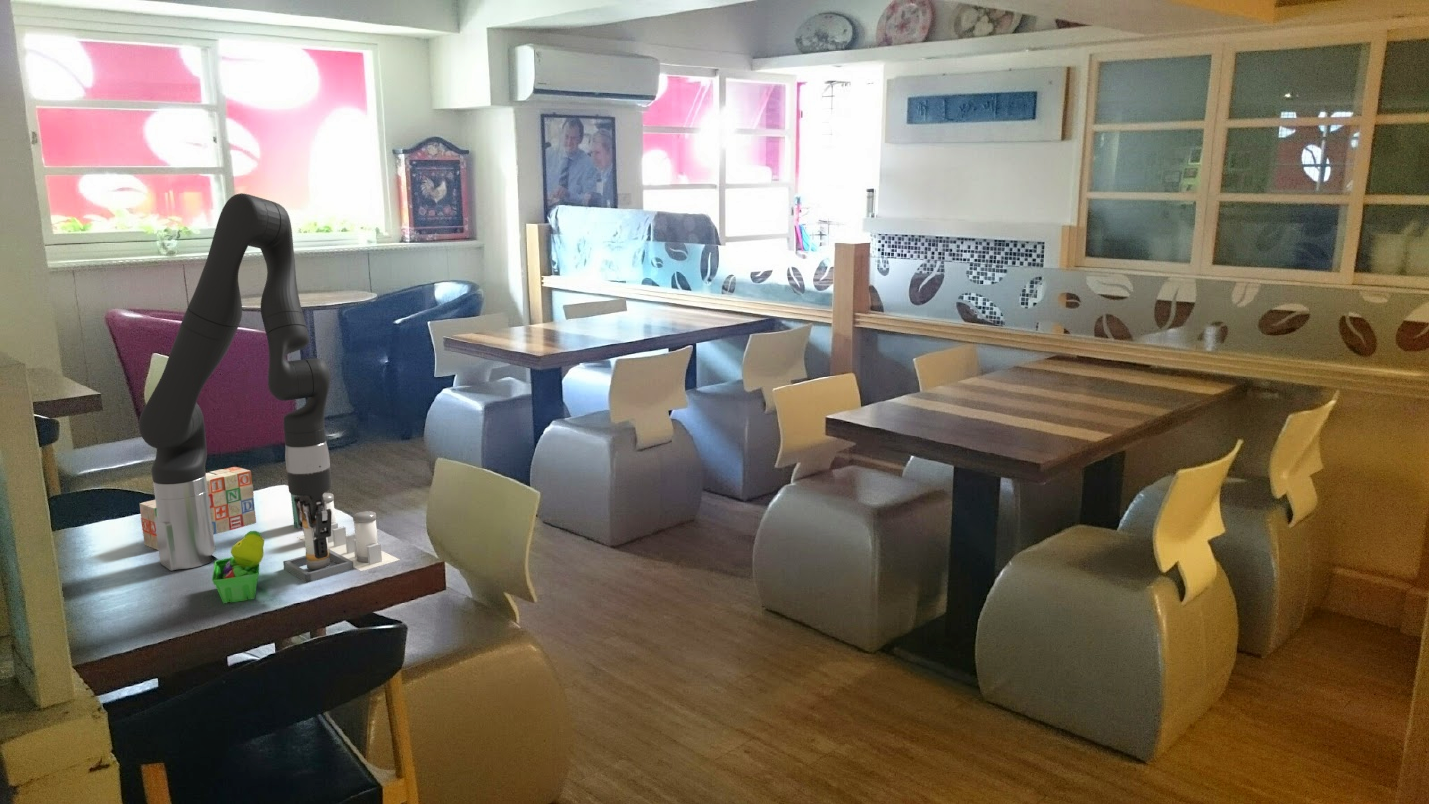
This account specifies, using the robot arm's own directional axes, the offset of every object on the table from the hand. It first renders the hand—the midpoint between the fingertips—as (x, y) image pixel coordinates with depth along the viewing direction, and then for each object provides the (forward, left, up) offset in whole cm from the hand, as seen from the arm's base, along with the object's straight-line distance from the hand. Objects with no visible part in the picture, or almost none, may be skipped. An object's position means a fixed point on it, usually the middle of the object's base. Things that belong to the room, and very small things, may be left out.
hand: (317, 553), depth 193 cm
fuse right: (+9, -2, -3) cm, 10 cm away
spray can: (+10, +27, -5) cm, 29 cm away
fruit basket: (-13, +3, -5) cm, 14 cm away
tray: (0, 0, -5) cm, 5 cm away
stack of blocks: (-6, +43, -5) cm, 44 cm away
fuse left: (+9, +16, -3) cm, 19 cm away
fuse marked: (0, 0, -2) cm, 2 cm away
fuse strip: (+9, +7, -5) cm, 12 cm away
